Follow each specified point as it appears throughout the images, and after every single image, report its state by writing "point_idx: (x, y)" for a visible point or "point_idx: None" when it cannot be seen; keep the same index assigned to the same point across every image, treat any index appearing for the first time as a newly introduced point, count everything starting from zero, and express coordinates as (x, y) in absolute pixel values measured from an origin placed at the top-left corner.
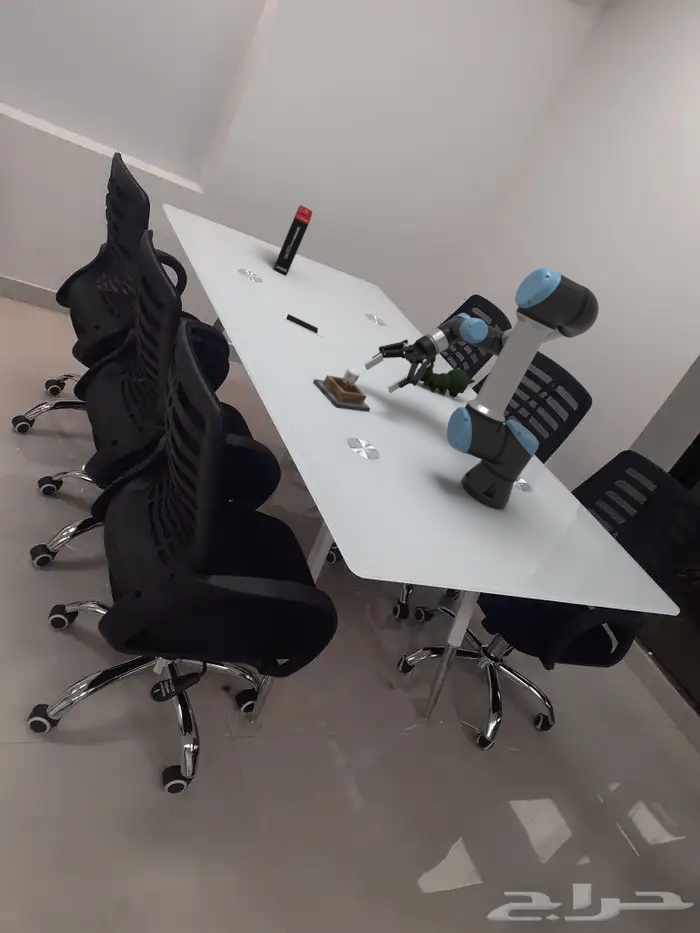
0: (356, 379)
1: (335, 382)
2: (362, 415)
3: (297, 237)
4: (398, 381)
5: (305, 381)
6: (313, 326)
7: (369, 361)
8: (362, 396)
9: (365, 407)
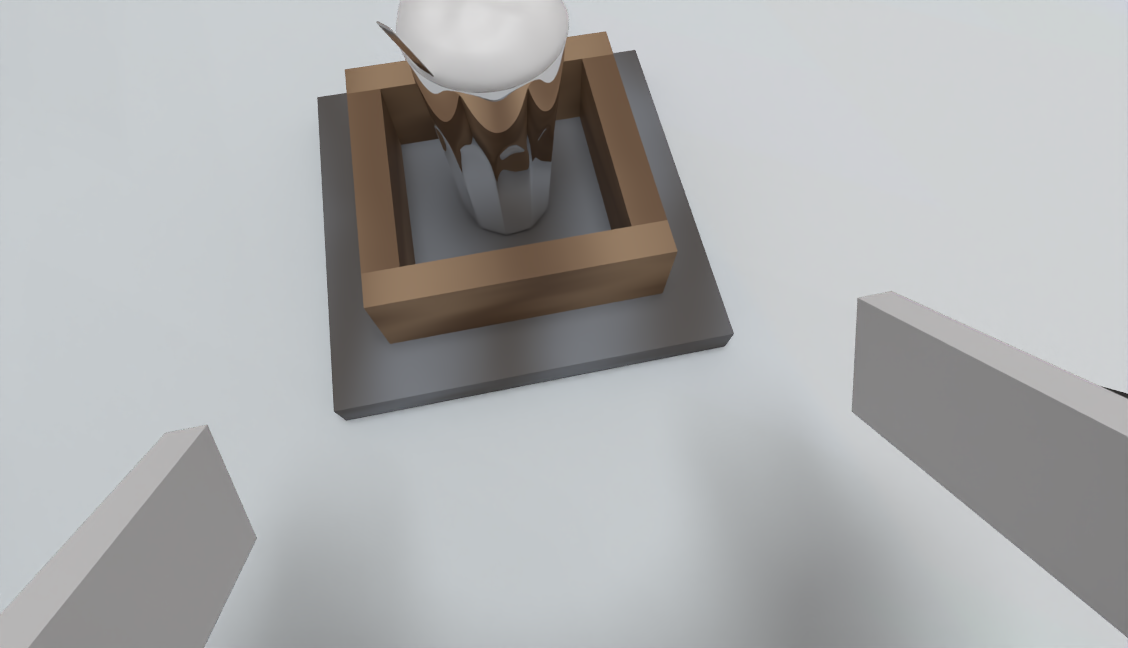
0: (419, 90)
1: None
2: (265, 314)
3: None
4: (32, 581)
5: (611, 24)
6: None
7: (928, 323)
8: (361, 264)
9: (338, 354)
